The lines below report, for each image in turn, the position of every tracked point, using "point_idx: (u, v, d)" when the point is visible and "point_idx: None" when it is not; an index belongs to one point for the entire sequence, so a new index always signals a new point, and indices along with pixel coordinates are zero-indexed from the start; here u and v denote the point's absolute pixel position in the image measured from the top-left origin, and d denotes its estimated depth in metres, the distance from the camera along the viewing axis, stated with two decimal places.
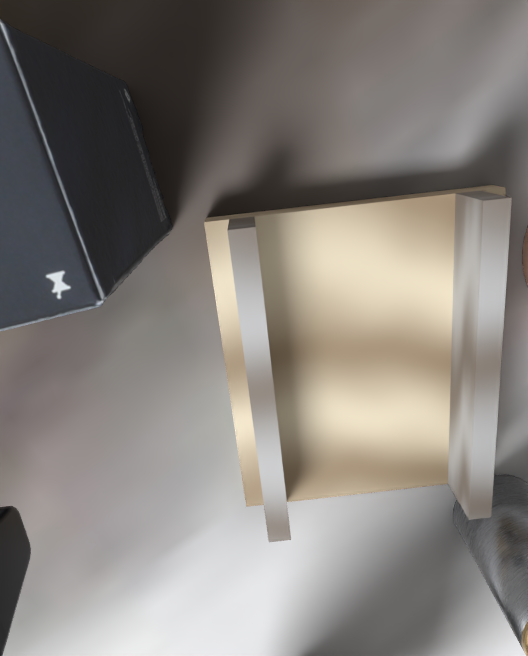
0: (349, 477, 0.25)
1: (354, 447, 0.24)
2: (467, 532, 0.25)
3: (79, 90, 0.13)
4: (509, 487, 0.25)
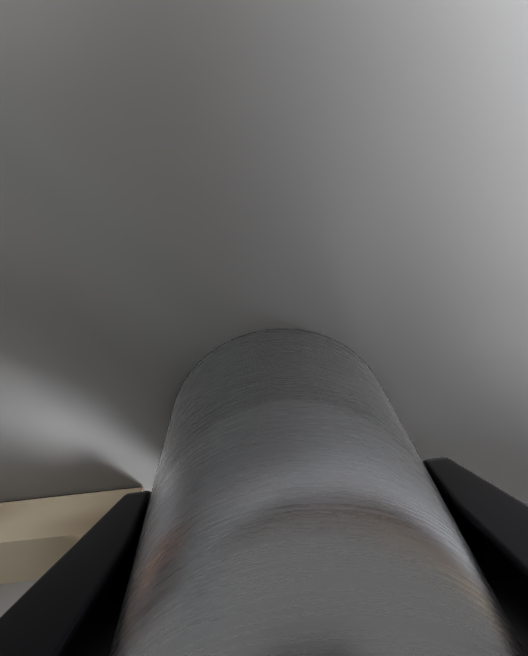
0: None
1: None
2: None
3: None
4: None
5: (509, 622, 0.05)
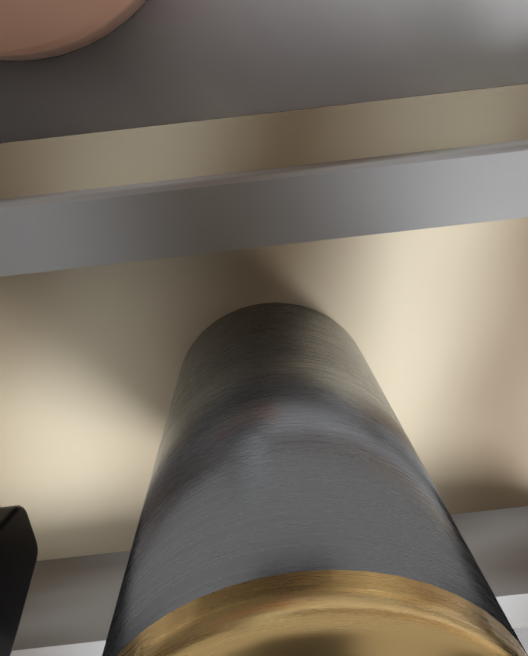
0: None
1: (458, 395, 0.12)
2: None
3: None
4: None
5: (447, 510, 0.06)
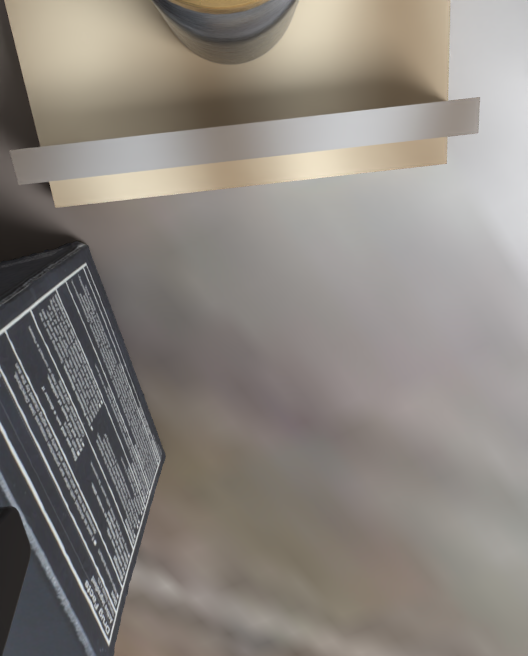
0: None
1: None
2: (222, 56, 0.15)
3: None
4: None
5: None
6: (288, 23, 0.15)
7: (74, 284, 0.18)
